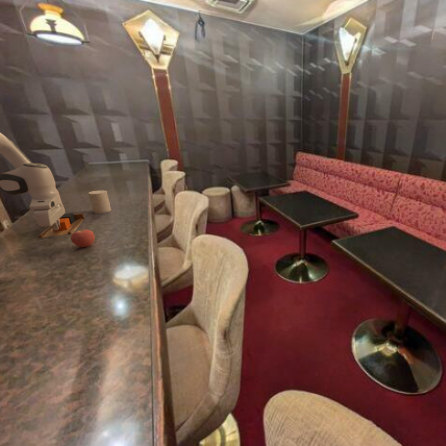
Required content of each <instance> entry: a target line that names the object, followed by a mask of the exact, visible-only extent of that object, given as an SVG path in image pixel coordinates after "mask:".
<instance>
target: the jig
mask: <svg viewBox="0 0 446 446" xmlns="http://www.w3.org/2000/svg"><path fill="white" fill-rule="evenodd" d="M73 214H74V218H75V221H74V222H73V223H72V224H71V226H70V227H69V228H68V229H67V230H60V231H53V229H52V226H49V227H45V229H44V230H43V231H42V232H41V233H39V234H38V235H37V239H41V238H49V237H50V238H51V237H58V236H67V235H72V234H73V233H74V232H76V230H77V229H78V227H79V226H80V225H81V224H82V223H83V221H84V220H85V216H84V212H83V213H73Z"/></svg>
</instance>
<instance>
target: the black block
mask: <svg viewBox="0 0 446 446" xmlns="http://www.w3.org/2000/svg"><path fill="white" fill-rule="evenodd" d="M74 214H75V213H73V212H69V213H68V212H67V213H65V214H64V215H62V216H61V217H60V218H59V219H64V218H69V221H70V224H72V223H73V222H74V221H75V218H74Z"/></svg>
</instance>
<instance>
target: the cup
mask: <svg viewBox="0 0 446 446" xmlns="http://www.w3.org/2000/svg"><path fill="white" fill-rule="evenodd" d="M88 196H89V197H88V198H89V200H90V204H91V207H92V210H93V213H95V214H103V213H109V212H111V211H112V207H111V203H110V200H109V195H108V191H107V190H103V189H102V190H100V189H99V190H93V191H88Z"/></svg>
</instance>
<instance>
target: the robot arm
mask: <svg viewBox="0 0 446 446" xmlns="http://www.w3.org/2000/svg"><path fill="white" fill-rule="evenodd" d="M0 154H1V155H2V157H4V159H6V160H7V161H8V162H9V163H10V164H11V165H12V166H13V167H14V168H15V169H11V170H9V171H5V172H3V173H0V191H1V192H3V193H4V194H7V195H10V196H16V195H23V194H29V195H30V197H31V200H30V201H31V202H30V204H29V209H30V211H33V216H34V218H35V221H36V223H37V225H38V226H39V227H40V228H47V227H49V226H52V227H53V230H58V229H59V228H60V220H59V218H60V217H61V216H62V215H64V214H66V210H65V206H64V204H63V202H62V199H61V196H60V192H59V191H58V189H57V187H56V185H57V184H56V183H57V182H56V180H55V177H54V175H53V173H52V171H51V169H50V168H49V167H48V166H47V165H46V164H44V163H38V162H33V161H32V160H31V159H30V157H28V156H27V155H26V154H25V153H24V152H23V151H22V150H21V149H20V148H19V147H18V146H17V145H16V144H15V143H14V142H13V141H12V140H11V139H10V138H9V137H8V136H6V135H4V134H3V133H2V132H0Z"/></svg>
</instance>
